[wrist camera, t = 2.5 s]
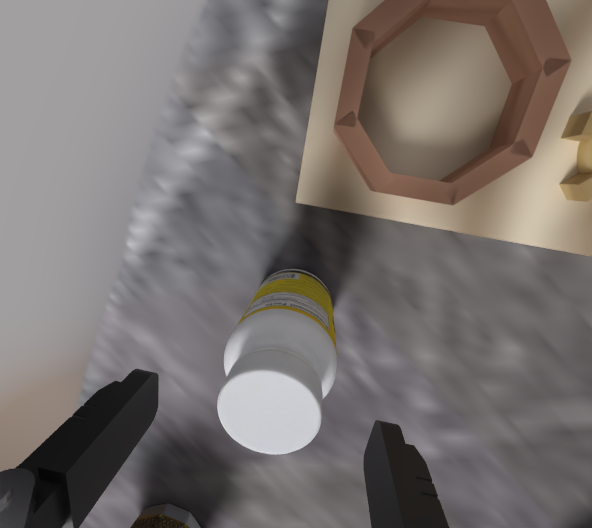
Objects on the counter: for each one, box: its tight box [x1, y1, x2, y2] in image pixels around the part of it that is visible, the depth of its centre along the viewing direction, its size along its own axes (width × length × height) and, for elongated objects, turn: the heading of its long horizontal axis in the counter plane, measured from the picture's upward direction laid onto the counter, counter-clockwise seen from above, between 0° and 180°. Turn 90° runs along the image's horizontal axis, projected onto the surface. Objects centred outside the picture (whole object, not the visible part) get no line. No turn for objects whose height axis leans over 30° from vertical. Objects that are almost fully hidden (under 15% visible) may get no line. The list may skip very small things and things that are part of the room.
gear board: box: [295, 0, 592, 256], centre depth 13 cm, size 22×12×5 cm, turn 80°
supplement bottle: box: [217, 269, 337, 454], centre depth 15 cm, size 5×5×10 cm
